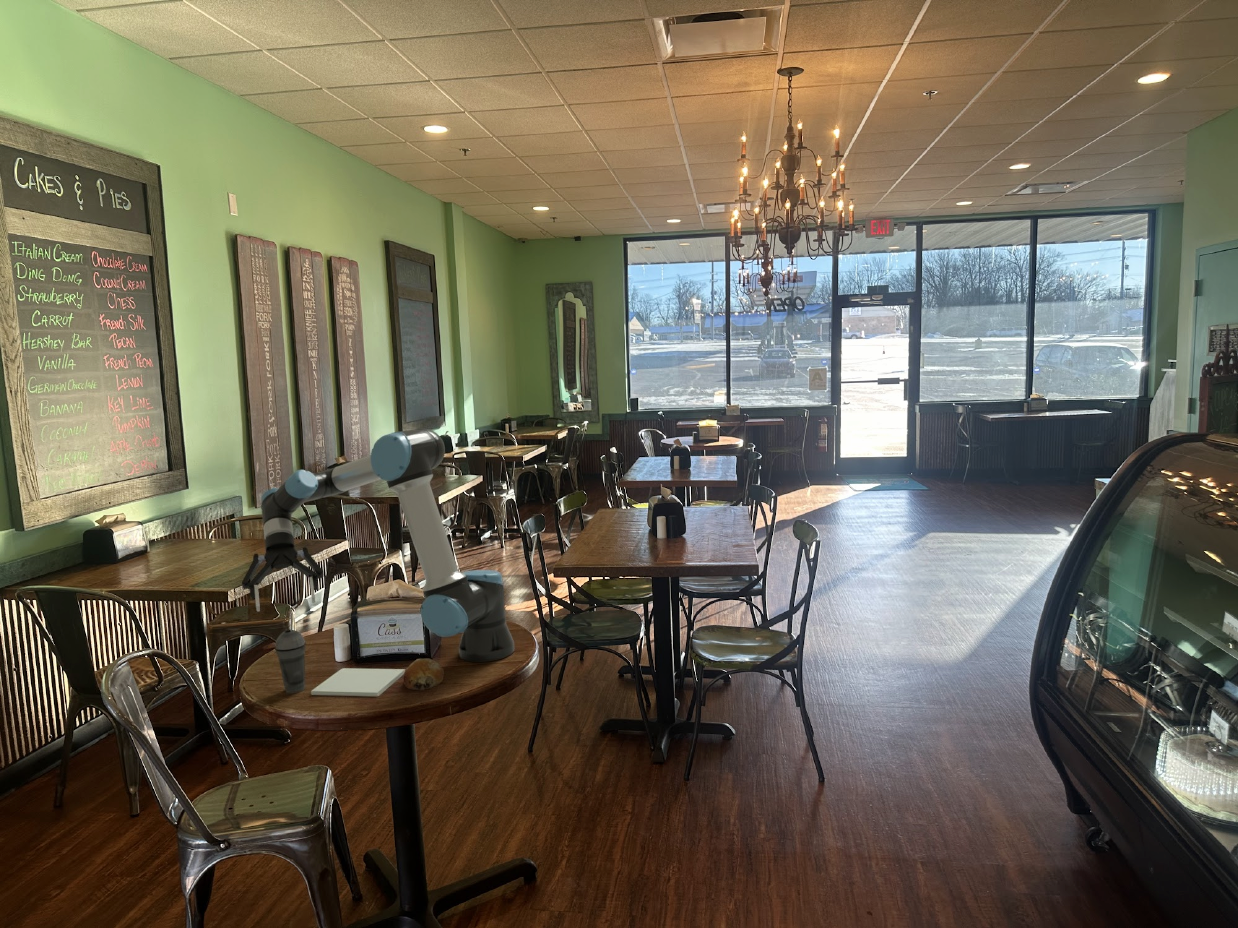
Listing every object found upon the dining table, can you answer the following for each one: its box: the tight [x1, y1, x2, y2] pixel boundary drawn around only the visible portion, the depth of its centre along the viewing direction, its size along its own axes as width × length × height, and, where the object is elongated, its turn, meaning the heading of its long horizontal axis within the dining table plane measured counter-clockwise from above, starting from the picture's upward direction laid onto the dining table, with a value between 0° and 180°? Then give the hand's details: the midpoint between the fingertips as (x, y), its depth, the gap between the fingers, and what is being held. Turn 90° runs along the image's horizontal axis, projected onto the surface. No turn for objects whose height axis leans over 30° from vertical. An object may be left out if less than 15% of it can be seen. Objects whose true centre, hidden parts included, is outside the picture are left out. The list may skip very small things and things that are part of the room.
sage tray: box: [310, 667, 406, 697], centre depth 210 cm, size 18×15×1 cm
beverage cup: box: [274, 612, 307, 694], centre depth 207 cm, size 7×7×20 cm
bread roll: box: [403, 657, 445, 691], centre depth 208 cm, size 10×10×8 cm
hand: (286, 604), depth 215 cm, fingers open, 13 cm apart
